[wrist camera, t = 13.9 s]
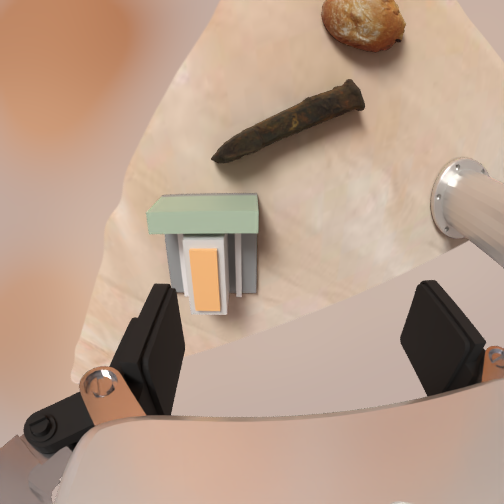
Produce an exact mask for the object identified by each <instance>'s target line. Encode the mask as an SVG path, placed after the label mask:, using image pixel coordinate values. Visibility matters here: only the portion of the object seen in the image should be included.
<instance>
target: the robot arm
mask: <svg viewBox="0 0 504 504" xmlns="http://www.w3.org/2000/svg"><path fill="white" fill-rule="evenodd" d="M431 212H432V216H433V220H434V222H435V224H436V226H437V227H438V228H439V230H440V231H442V232H443V233H444V234H445V235H447V236H449V237H451V238H456V239H460V238H465V237H466V238H467V239H468V240H470V241H471V242H473V243H474V244H475V245H476V246H477V247H479V248H480V249H481V250H483V251H484V252H485V253H486V254H487V255H489V256H490V257H491V258H492V259H493V260H495V261H496V262H497V263H498V264H499V265H501V266H502V267H503V268H504V183H502V182H500V181H498V180H495V179H493V178H491V177H490V176H489V174H488V172H487V170H486V169H485V167H484V166H483V165H482V164H481V163H479V162H478V161H476V160H473V159H470V158H458V159H455V160H453V161H452V162H450V163H449V164H447V165H446V166H445V167H444V168H443V170H442V171H441V172H440V174H439V175H438V177H437V179H436V181H435V184H434V187H433V190H432V195H431ZM400 340H401V345H402V346H403V349H404V350H405V352H406V354H407V356H408V358H409V360H410V362H411V364H412V366H413V368H414V370H415V372H416V374H417V376H418V378H419V380H420V382H421V384H422V386H423V388H424V390H425V392H426V394H427V396H428V397H424V398H420V399H415V400H410V401H405V402H400V403H394V404H389V405H383V406H378V407H371V408H364V409H357V410H350V411H342V412H333V413H323V414H312V415H298V416H280V417H200V416H172V415H171V412H172V407H173V402H174V397H175V393H176V388H177V383H178V379H179V374H180V370H181V365H182V360H183V356H184V352H185V342H184V336H183V330H182V324H181V318H180V312H179V306H178V299H177V293H176V289H175V288H171V286H170V284H154V285H153V287H152V289H151V292H150V294H149V296H148V298H147V300H146V302H145V304H144V306H143V308H142V310H141V313H140V315H139V317H138V318H132V320H131V321H130V323H129V325H128V327H127V329H126V331H125V334H124V336H123V338H122V340H121V342H120V344H119V346H118V349H117V351H116V353H115V355H114V357H113V360H112V362H111V364H110V366H109V367H108V366H100V367H96V368H93V369H91V370H89V371H87V372H86V373H85V374H84V375H83V377H82V378H81V380H80V383H79V389H80V392H78V393H76V394H74V395H72V396H70V397H67V398H65V399H63V400H61V401H59V402H57V403H55V404H53V405H51V406H48V407H46V408H44V409H42V410H40V411H37V412H35V413H34V414H32V415H31V416H30V417H29V418H28V419H27V421H26V423H25V425H24V434H23V435H22V436H20V437H19V436H18V435H16V436H15V437H13V438H12V439H11V440H10V441H9V442H7V443H6V444H5V445H4V446H3V447H2V448H0V504H53V503H52V498H51V496H52V491H53V490H54V488H55V487H56V486H57V485H58V484H59V483H60V485H59V488H58V491H57V495H56V498H55V501H54V504H504V348H502V347H499V346H490V347H488V348H487V350H486V351H485V350H484V349H483V347H484V345H485V344H486V341H485V340H484V338H483V337H482V336H481V334H480V333H479V332H478V330H477V329H476V328H475V327H474V325H473V324H472V323H471V322H470V320H469V319H468V318H467V317H466V316H465V314H464V313H463V312H462V311H461V309H460V308H459V307H458V306H457V305H456V303H455V302H454V301H453V300H452V299H451V297H450V296H449V295H448V294H447V293H446V292H445V291H444V290H443V288H442V287H441V286H440V285H439V284H438V283H437V281H435V280H427V281H422V282H421V283H420V284H419V285H418V286H417V288H416V291H415V295H414V298H413V301H412V304H411V307H410V310H409V313H408V316H407V319H406V323H405V325H404V328H403V331H402V334H401V337H400ZM61 477H62V479H61V481H60V480H59V479H60V478H61Z"/></svg>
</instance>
